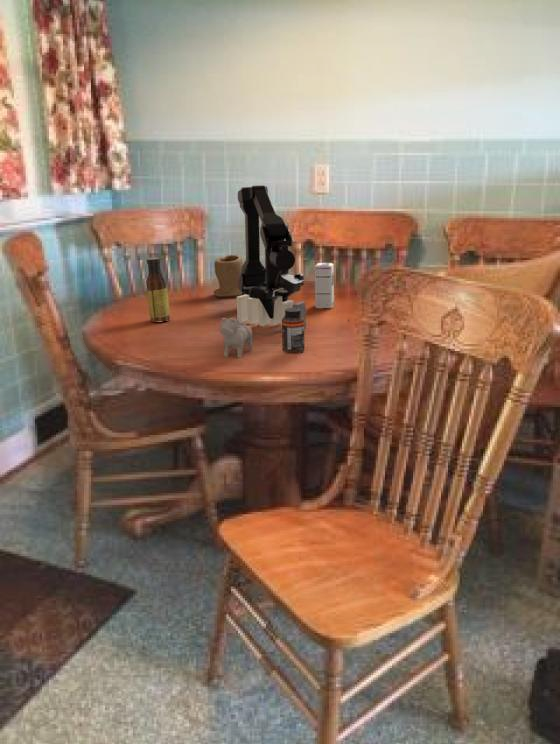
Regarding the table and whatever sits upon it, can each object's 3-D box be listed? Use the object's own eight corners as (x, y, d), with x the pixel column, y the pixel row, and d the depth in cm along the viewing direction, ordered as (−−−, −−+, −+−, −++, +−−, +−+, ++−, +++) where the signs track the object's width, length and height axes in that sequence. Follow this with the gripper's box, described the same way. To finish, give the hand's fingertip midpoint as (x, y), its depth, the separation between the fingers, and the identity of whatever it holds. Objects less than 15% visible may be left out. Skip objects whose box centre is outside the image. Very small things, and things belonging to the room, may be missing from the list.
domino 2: (248, 323, 204) (247, 298, 201) (256, 320, 207) (255, 295, 205) (252, 324, 203) (251, 298, 200) (260, 321, 206) (260, 296, 204)
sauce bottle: (173, 319, 211) (169, 257, 205) (164, 324, 206) (159, 260, 199) (155, 318, 213) (150, 256, 207) (145, 322, 208) (140, 259, 201)
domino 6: (292, 331, 194) (292, 304, 192) (301, 327, 198) (301, 301, 195) (297, 331, 193) (297, 305, 191) (305, 328, 197) (305, 302, 194)
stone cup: (215, 300, 237) (212, 258, 233) (212, 294, 248) (210, 254, 244) (256, 298, 239) (255, 256, 235) (252, 292, 251) (251, 252, 246)
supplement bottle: (281, 348, 177) (280, 307, 174) (303, 347, 178) (302, 306, 174) (283, 354, 172) (282, 312, 168) (305, 353, 172) (305, 311, 169)
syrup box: (332, 308, 221) (332, 265, 216) (314, 308, 222) (314, 265, 218) (334, 305, 226) (334, 262, 222) (317, 304, 227) (317, 262, 223)
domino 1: (237, 322, 206) (236, 296, 204) (246, 319, 209) (245, 294, 207) (241, 322, 205) (240, 297, 203) (250, 319, 209) (249, 294, 206)
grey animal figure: (216, 360, 169) (213, 319, 165) (237, 346, 180) (235, 308, 176) (234, 362, 167) (232, 321, 163) (255, 348, 178) (253, 309, 174)
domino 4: (270, 324, 199) (269, 298, 196) (278, 321, 202) (277, 295, 200) (274, 325, 198) (273, 298, 195) (282, 322, 201) (282, 296, 199)
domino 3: (258, 325, 201) (258, 299, 199) (267, 322, 205) (266, 297, 202) (263, 326, 200) (262, 300, 198) (271, 323, 204) (271, 297, 201)
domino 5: (281, 329, 197) (280, 302, 194) (289, 326, 200) (289, 300, 198) (285, 329, 196) (285, 303, 193) (294, 326, 199) (293, 300, 197)
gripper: (278, 272, 183) (279, 326, 188) (315, 262, 197) (315, 313, 202) (247, 269, 189) (248, 322, 194) (284, 260, 203) (285, 309, 208)
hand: (276, 316), depth 199 cm, fingers closed on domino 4, 4 cm apart
